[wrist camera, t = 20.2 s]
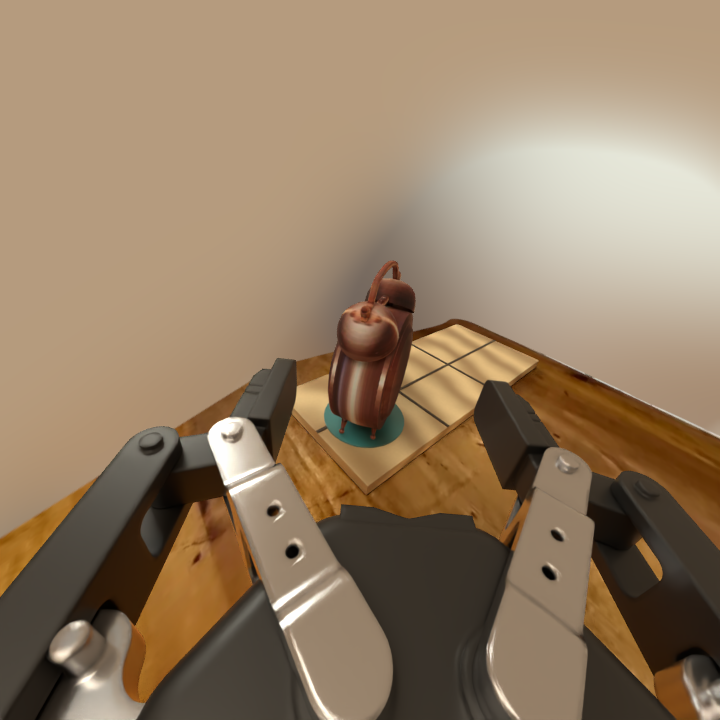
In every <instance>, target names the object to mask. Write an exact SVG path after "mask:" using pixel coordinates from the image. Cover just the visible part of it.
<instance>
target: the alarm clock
mask: <svg viewBox="0 0 720 720" xmlns="http://www.w3.org/2000/svg"><path fill="white" fill-rule="evenodd" d="M391 267H393V279H390V278H385V279H382V278H383V276H384V275H385V274H386V272H387V271H388V270H389V269H390V268H391ZM398 269H399V267H398V263H397V262H396V261H388V262H387V263H386V264H385V265H384V266H383V267H382V268H381V269H380V271H379V272H378V274H377V275H376V277H375V279H374V281H373V283H372V286H371V288H370V290H369V291H368V293H367V296H366V299H365V302H359V303H357V304H354V305H352V306H350V307H349V308H348V309H346V311H345V312H344V313H343V314H342V316H341V318H340V320H339V323H338V328H337V338H338V341H337V344H336V347H335V350H334V354H333V358H332V362H331V367H330V372H329V379H328V398H329V406H330V410H331V412H332V413H333V414H335V415H337V416H339V417H341V418H342V422H341V428H340V429H339V432H340V433H341V434H342V433H344V428H345V426H346V424H347V421H350V422H352V423H354V424H357V425H360V426H365V427H370V428H372V435H371V436H370V438H371V439H375V433H376V429H378V430H380V429H381V428H382V426H383V425H384V423H385V421H386V419H387V417H388V416H389V415H390V414H391V412H392V410H393V408H394V405H395V403H396V400H397V397H398V394H399V392H400V388H401V385H402V382H403V379H404V375H405V371H406V368H407V364H408V360H409V355H410V351H411V345H412V339H413V329H412V322H413V316H412V313H414V310H415V301H416V300H415V293H414V292H413V289H412V288H411V287H410V286H409V285H408V284H406V283H404V282H402V281H400V278H401V273H400V272H399V271H398Z"/></svg>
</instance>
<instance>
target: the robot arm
mask: <svg viewBox="0 0 720 720" xmlns="http://www.w3.org/2000/svg"><path fill="white" fill-rule="evenodd" d="M296 393H297V376H296V360H292V359H281V358H277V359H276V361H275V363H274V365H273V367H272V369H262V370H260V371H259V372H258V373H256V374H255V375H254V376H253V378H252V379H251V381H250V383H249V386H247V388H246V389H245V393H243V395H242V396H241V398H240V400H239V402H238V403H237V405H236V407H235V408H234V410H233V412H232V414H231V415H230V417H229V418H227V419H224V420H222V421H220V422H218V423H216V424H215V425H214V426H213V427H212V428H211V429H210V431H209V432H208V433H204V434H199V435H192V436H185V437H179V435H178V432H177V431H176V430H175V429H173V428H170V427H165V426H163V427H162V426H161V427H153V428H150V429H146V430H144V431H142V432H140V433H138V434H136V435H135V436H133V437H132V438H131V439H130V440H129V441H128V442H127V443H126V444H125V446H124V447H123V448H122V449H121V450H120V452H119V453H118V454H117V455H116V456H115V458H114V459H113V460H112V461H111V463H110V464H109V465H108V466H107V467H106V469H105V470H104V471H103V472H102V474H101V475H100V476H99V477H98V478H97V480H96V481H95V482H94V483H93V484H92V486H91V487H90V488H89V489H88V491H87V492H86V493H85V494H84V495H83V497H82V498H81V499H80V500H79V502H78V503H77V504H76V505H75V506H74V508H73V509H72V510H71V511H70V513H69V514H68V515H67V516H66V517H65V519H64V520H63V521H62V522H61V524H60V525H59V526H58V527H57V528H56V530H55V531H54V532H53V533H52V535H51V536H50V537H49V538H48V539H47V541H46V542H45V543H44V544H43V546H42V547H41V548H40V549H39V550H38V552H37V553H36V554H35V555H34V557H33V558H32V559H31V560H30V561H29V563H28V564H27V565H26V566H25V568H24V569H23V570H22V571H21V572H20V574H19V575H18V576H17V577H16V579H15V580H14V581H13V582H12V583H11V585H10V586H9V587H8V588H7V590H6V591H5V592H4V593H3V594H2V596H1V597H0V720H720V551H719V549H718V548H717V547H716V546H715V545H714V544H713V543H712V541H711V540H710V539H709V538H708V537H707V536H706V535H705V533H704V532H703V531H702V530H701V529H700V528H699V527H698V525H697V524H696V523H695V522H694V521H693V520H692V519H691V517H690V516H689V515H688V514H687V513H686V512H685V511H684V509H683V508H682V507H681V506H680V505H679V504H678V503H677V501H676V500H675V499H674V498H673V497H672V496H671V494H670V493H669V492H668V491H667V490H666V489H665V488H664V487H662V486H661V485H660V484H659V483H657V482H656V481H654V480H652V479H651V478H649V477H647V476H645V475H643V474H640V473H637V472H633V471H624V472H622V473H621V474H620V475H619V476H618V477H617V478H616V479H612V478H609V477H606V476H603V475H600V474H597V473H594V472H591V470H590V468H589V466H588V465H587V464H586V463H585V462H584V461H583V460H582V459H581V458H580V457H578V456H577V455H575V454H574V453H572V452H570V451H568V450H565V449H562V448H559V446H558V445H557V443H556V442H555V441H554V439H553V438H552V436H551V435H550V433H549V432H548V430H547V429H546V427H545V426H544V425H543V423H542V422H540V421H541V420H540V419H539V417H538V416H537V415H536V414H535V411H534V410H533V409H532V407H531V406H530V404H529V403H528V402H527V401H525V400H524V399H523V398H522V397H521V396H519V395H516V394H515V393H514V391H513V390H512V388H511V386H510V385H509V384H508V383H507V382H505V381H495V380H487V381H486V382H485V384H484V386H483V388H482V391H481V393H480V396H479V398H478V401H477V403H476V406H475V409H474V421H475V424H476V426H477V429H478V431H479V434H480V436H481V438H482V441H483V443H484V446H485V448H486V450H487V453H488V455H489V458H490V460H491V462H492V465H493V467H494V470H495V472H496V474H497V477H498V479H499V482H500V484H501V486H502V489H509V490H516V492H517V494H518V495H517V497H516V498H515V500H514V502H513V505H512V507H511V510H510V512H509V515H508V517H507V520H506V523H505V525H504V528H503V530H502V533H501V535H500V538H499V540H498V539H496V538H495V537H493V536H492V535H490V534H488V533H487V532H485V531H482V530H480V529H478V528H476V527H475V524H474V521H473V517H472V516H467V515H456V514H444V513H438V514H433V515H427V516H422V517H417V518H411V519H408V518H404V517H401V516H398V515H395V514H392V513H389V512H386V511H383V510H380V509H377V508H374V507H365V506H354V505H342V504H341V513H340V515H336V516H332V517H329V518H326V519H323V520H321V521H319V522H317V523H316V522H315V521H314V519H313V517H312V515H311V514H310V512H309V510H308V508H307V507H306V505H305V503H304V501H303V500H302V498H301V496H300V494H299V493H298V491H297V489H296V487H295V486H294V484H293V482H292V480H291V479H290V477H289V475H288V473H287V472H286V470H285V468H284V467H283V465H282V464H281V463H278V464H275V462H276V459H277V456H278V453H279V450H280V447H281V444H282V441H283V438H284V435H285V432H286V429H287V426H288V423H289V420H290V417H291V414H292V411H293V408H294V404H295V400H296ZM217 497H222V498H223V501H224V504H225V507H226V510H227V513H228V515H229V518H230V521H231V524H232V527H233V530H234V533H235V536H236V538H237V541H238V545H239V548H240V551H241V555H242V558H243V561H244V564H245V568H246V571H247V573H248V576H249V579H250V582H251V585H252V586H251V587H250V588H249V589H248V590H247V591H246V592H245V594H244V595H243V596H242V597H241V598H240V599H239V600H238V601H237V602H236V603H235V604H234V605H233V606H232V607H231V608H230V609H229V610H228V611H227V612H226V613H225V614H224V615H223V616H222V617H221V619H220V620H219V621H218V622H217V623H216V624H215V625H214V626H213V627H212V628H211V629H210V630H209V631H208V632H207V633H206V634H205V635H204V636H203V637H202V638H201V639H200V640H199V641H198V643H197V644H196V645H195V646H194V647H193V648H192V649H191V650H190V651H189V652H188V653H187V654H186V655H185V656H184V657H183V658H182V659H181V660H180V661H179V662H178V663H177V664H176V665H175V667H174V668H173V669H172V670H171V671H170V672H169V673H168V674H167V675H166V676H165V677H164V679H163V680H162V681H161V682H160V683H159V685H158V686H157V687H156V689H155V690H154V691H153V693H152V694H151V696H150V697H149V699H148V700H147V702H146V703H141V702H140V699H139V694H138V682H139V676H140V673H141V669H142V666H143V663H144V659H145V653H146V645H145V640H144V638H143V636H142V635H141V633H140V632H139V631H138V630H137V628H136V627H135V625H136V623H137V621H138V618H139V616H140V614H141V612H142V610H143V608H144V606H145V604H146V601H147V599H148V597H149V595H150V593H151V591H152V589H153V587H154V584H155V582H156V580H157V578H158V576H159V574H160V572H161V570H162V568H163V565H164V563H165V561H166V559H167V557H168V555H169V553H170V551H171V548H172V546H173V544H174V542H175V540H176V538H177V536H178V534H179V531H180V529H181V527H182V525H183V523H184V521H185V519H186V517H187V514H188V512H189V510H190V508H191V506H192V504H193V503H194V502H199V501H203V500H208V499H213V498H217ZM642 537H643V539H644V540H645V542H646V543H647V545H648V546H649V547H650V549H651V550H652V552H653V553H654V555H655V556H656V558H657V559H658V561H659V562H660V564H661V567H662V571H663V576H662V579H661V581H659V580H658V578H657V577H656V575H655V574H654V572H653V571H652V569H651V568H650V566H649V565H648V563H647V562H646V560H645V559H644V557H643V555H642V554H641V552H640V551H639V549H638V548H637V546H636V545H635V544H636V543H637V542H638V541H639V540H640V539H641V538H642ZM591 557H592V559H593V561H594V563H595V565H596V567H597V568H598V570H599V572H600V574H601V576H602V578H603V580H604V582H605V584H606V586H607V588H608V589H609V591H610V593H611V595H612V597H613V599H614V601H615V603H616V605H617V607H618V609H619V611H620V612H621V614H622V616H623V618H624V620H625V622H626V624H627V626H628V628H629V630H630V632H631V633H632V635H633V637H634V639H635V641H636V643H637V645H638V647H639V649H640V651H641V653H642V655H643V656H644V658H645V660H646V662H647V664H648V666H649V668H650V670H651V672H652V674H653V676H654V688H655V693H656V696H657V698H656V697H655V696H654V695H653V694H652V693H651V692H650V691H649V690H648V689H647V688H646V687H645V686H644V685H643V684H642V683H641V682H640V681H639V680H638V679H637V678H636V677H635V676H634V675H633V674H632V673H631V672H630V671H629V670H628V669H627V668H626V667H625V666H624V665H623V664H622V663H621V662H620V661H619V660H618V658H617V657H616V656H615V655H614V654H613V653H612V652H611V651H610V650H609V649H608V648H607V647H606V646H605V645H604V644H603V643H602V642H601V641H600V640H599V639H598V638H597V637H596V636H595V635H594V634H593V633H592V632H591V631H590V630H589V629H588V628H587V627H586V626H585V625H584V615H585V606H586V597H587V589H588V580H589V571H590V562H591Z"/></svg>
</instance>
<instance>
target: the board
mask: <svg viewBox="0 0 720 720" xmlns="http://www.w3.org/2000/svg"><path fill="white" fill-rule="evenodd" d="M537 363H538V360H536V359H534V358H532V357H530V356H527V355H525V354H523V353H521V352H518V351H516V350H514V349H512V348H509V347H507V346H505V345H503V344H501V343H498V342H496V340H492V339H489V338H487V337H485V336H483V335H480V334H478V333H476V332H474V331H471V330H469V329H467V328H465V327H462V326H460V325H458V324H456V325H454V326H451V327H449V328H446V329H444V330H441V331H438V332H436V333H433V334H431V335H428V336H426V337H423V338H420V339H418V340H415V341H413V342H412V345H411V351H410V355H409V360H408V364H407V368H406V371H405V375H404V379H403V382H402V385H401V388H400V392H399V394H398V397H397V400H396V403H395V405H394V408H393V410H392V412H391V414H390V415H389V416H388V417H387V419H386V421H385V423H384V425H383V426H382V428H381V429H380V430H378V429H376V433H375V439H371V438H370V436H371V435H372V428H370V427H365V426H360V425H357V424H354V423H352V422H350V421H347V424H346V426H345V428H344V433H342V434H341V433H340V432H339V429H340V428H341V422H342V418H341V417H339V416H337V415H335V414H333V413H332V412H331V410H330V406H329V398H328V379H329V374H328V375H325V376H323V377H320V378H318V379H315V380H312V381H310V382H307V383H305V384H302V385H300V386H297V393H296V400H295V404H294V408H293V411H292V415H293V416H294V417H295V418H296V419H297V420H298V421H299V423H300V424H301V425H302V426H303V427H304V428H305V429H306V430H307V431H308V432H309V433H310V435H311V436H312V437H313V438H314V439H315V440H316V441H317V442H318V443H319V444H320V445H321V446H322V448H323V449H324V450H325V451H326V452H327V453H328V454H329V455H330V456H331V457H332V458H333V460H334V461H335V462H336V463H337V464H338V465H339V466H340V467H341V468H342V469H343V470H344V472H345V473H346V474H347V475H348V476H349V477H350V478H351V479H352V480H353V481H354V482H355V483H356V485H357V486H358V487H359V488H360V489H361V490H362V491H363V492H364V493H365V494H366V495H367V494H368V493H370V492H371V491H372V490H373V489H375V488H376V487H377V486H379V485H380V484H381V483H383V482H384V481H385V480H387V479H388V478H389V477H391V476H392V475H393V474H395V473H396V472H397V471H399V470H400V469H401V468H403V467H404V466H405V465H407V464H408V463H409V462H411V461H412V460H413V459H415V458H416V457H417V456H419V455H420V454H421V453H422V452H424V451H425V450H426V449H428V448H429V447H430V446H432V445H433V444H434V443H436V442H437V441H438V440H440V439H441V438H442V437H444V436H445V435H446V434H448V433H449V432H450V431H452V430H453V429H454V428H456V427H457V426H458V425H460V424H461V423H462V422H464V421H465V420H466V419H468V418H469V417H470V416H472V415H473V414H474V409H475V406H476V403H477V401H478V398H479V396H480V393H481V391H482V388H483V386H484V384H485V382H486V381H487V380H495V381H505V382H507V383H508V384H509V385H510V386H511V385H513V384H514V383H515V382H517V381H518V380H519V379H521V378H522V377H523V376H524V375H526V374H527V373H528V372H530V371H531V370H532V369H534V368H535V367H536V365H537Z"/></svg>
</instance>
